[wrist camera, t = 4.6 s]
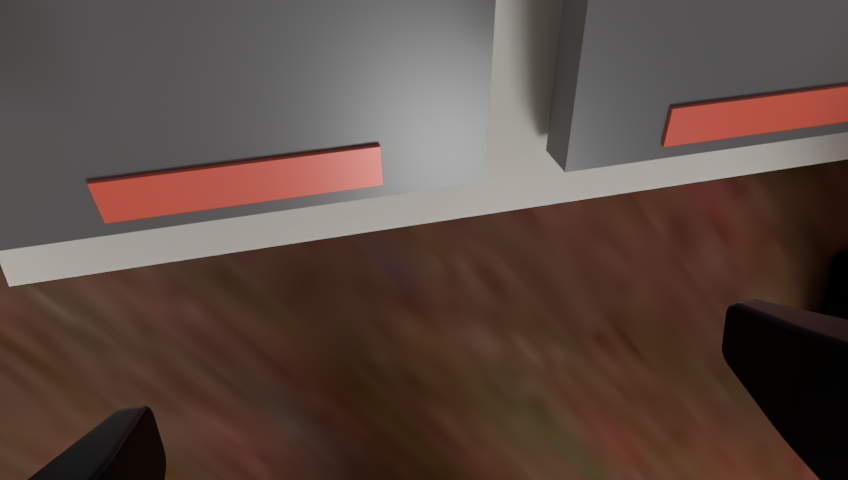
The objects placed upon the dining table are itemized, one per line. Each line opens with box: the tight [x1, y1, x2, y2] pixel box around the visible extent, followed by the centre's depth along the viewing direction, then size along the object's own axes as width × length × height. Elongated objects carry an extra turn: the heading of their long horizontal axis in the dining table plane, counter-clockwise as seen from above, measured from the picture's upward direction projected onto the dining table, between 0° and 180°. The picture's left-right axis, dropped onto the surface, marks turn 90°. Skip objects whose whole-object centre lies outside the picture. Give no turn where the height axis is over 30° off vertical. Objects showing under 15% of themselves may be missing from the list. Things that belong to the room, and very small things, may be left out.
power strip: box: [0, 0, 848, 287], centre depth 15 cm, size 25×10×4 cm, turn 94°
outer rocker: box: [0, 0, 496, 251], centre depth 11 cm, size 11×7×1 cm, turn 94°
